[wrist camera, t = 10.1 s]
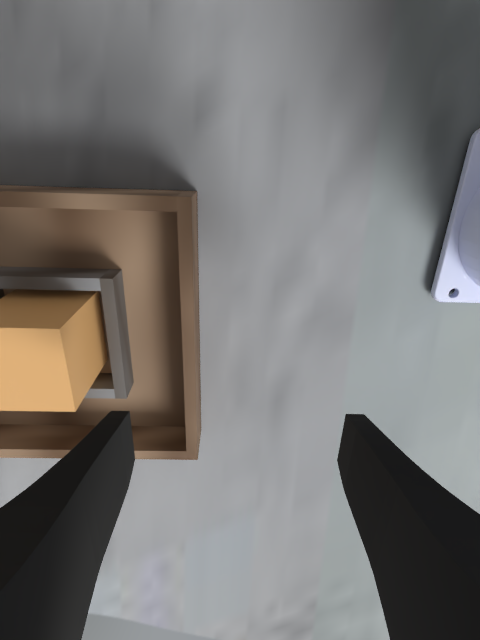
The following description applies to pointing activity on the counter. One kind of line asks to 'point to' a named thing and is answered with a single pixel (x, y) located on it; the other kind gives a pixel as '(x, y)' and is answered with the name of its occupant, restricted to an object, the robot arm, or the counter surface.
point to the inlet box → (113, 309)
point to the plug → (49, 348)
